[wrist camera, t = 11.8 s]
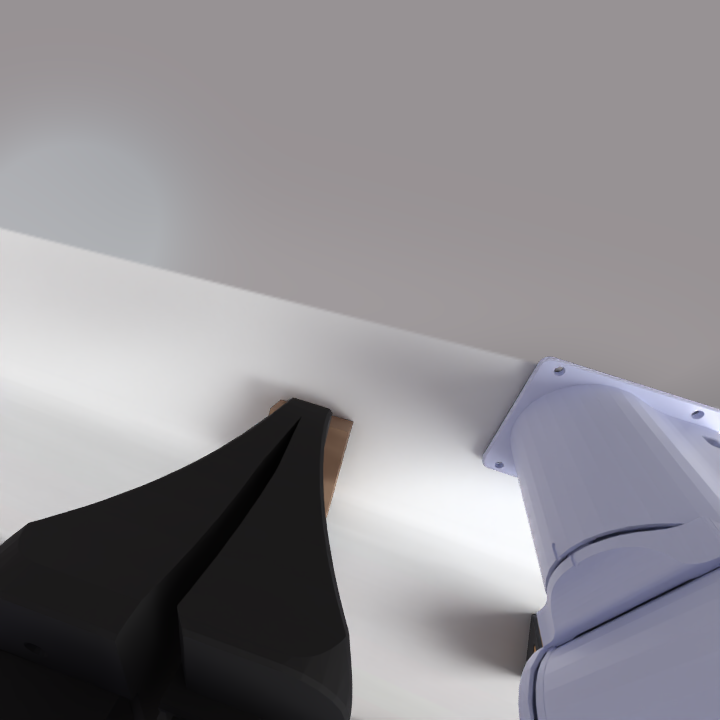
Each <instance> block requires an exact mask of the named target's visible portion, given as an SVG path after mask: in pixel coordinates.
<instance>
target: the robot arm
mask: <svg viewBox="0 0 720 720" xmlns="http://www.w3.org/2000/svg"><path fill="white" fill-rule="evenodd" d="M558 367H563V369H562V370H561V371H560V372H554V370H555V369H556V368H558ZM695 411H699V412H698V413H696V414H693V415H692V413H694V412H695ZM331 417H332V412H331V410H330V409H328V408H325V407H322V406H318V405H315V404H312V403H309V402H306V401H303V400H299V399H296V398H292V399H290V400H288V401H287V402H286V403H285V404H283V405H282V406H281V407H280V408H278V409H277V410H276V411H274V412H273V413H272V414H270V415H269V416H268V417H266V418H265V419H264V420H262V421H261V422H259V423H258V424H256V425H255V426H254V427H252V428H251V429H249V430H248V431H246V432H245V433H243V434H242V435H240V436H239V437H237V438H235V439H234V440H232V441H230V442H229V443H227V444H226V445H224V446H222V447H221V448H219V449H217V450H216V451H214V452H212V453H210V454H209V455H207V456H205V457H203V458H201V459H199V460H197V461H195V462H193V463H191V464H189V465H187V466H185V467H183V468H181V469H179V470H177V471H175V472H173V473H170V474H168V475H166V476H164V477H162V478H160V479H157V480H155V481H153V482H150V483H148V484H145V485H143V486H140V487H138V488H135V489H132V490H130V491H127V492H124V493H122V494H119V495H116V496H114V497H111V498H108V499H106V500H103V501H100V502H97V503H94V504H91V505H88V506H85V507H82V508H78V509H75V510H71V511H68V512H65V513H61V514H58V515H55V516H51V517H48V518H45V519H41V520H38V521H34V522H30V523H28V524H27V525H25V526H24V527H23V528H22V529H20V530H19V531H18V532H16V533H15V534H14V535H12V536H11V537H10V538H9V539H7V540H6V541H5V542H4V543H3V544H2V545H0V720H350V716H351V708H352V668H351V654H350V640H349V631H348V627H347V624H346V620H345V616H344V612H343V608H342V604H341V600H340V596H339V592H338V587H337V582H336V578H335V573H334V568H333V562H332V556H331V550H330V545H329V539H328V532H327V523H326V515H325V503H324V484H323V462H324V447H325V442H326V438H327V434H328V430H329V426H330V421H331ZM719 432H720V409H717V408H714V407H711V406H708V405H705V404H701V403H698V402H695V401H692V400H689V399H685V398H682V397H679V396H676V395H673V394H669V393H666V392H663V391H660V390H657V389H653V388H650V387H647V386H644V385H641V384H637V383H634V382H631V381H628V380H625V379H622V378H618V377H615V376H612V375H609V374H606V373H602V372H599V371H596V370H593V369H589V368H587V367H583V366H580V365H577V364H574V363H570V362H567V361H564V360H561V359H558V358H554V357H545V358H543V359H541V360H540V361H539V363H538V364H537V366H536V368H535V369H534V371H533V373H532V374H531V376H530V378H529V379H528V381H527V383H526V384H525V386H524V388H523V389H522V391H521V393H520V394H519V396H518V398H517V400H516V401H515V403H514V405H513V406H512V408H511V410H510V411H509V413H508V415H507V416H506V418H505V420H504V421H503V423H502V425H501V426H500V428H499V430H498V431H497V433H496V435H495V436H494V438H493V440H492V441H491V443H490V445H489V446H488V448H487V450H486V451H485V453H484V455H483V457H482V461H483V464H484V466H486V467H488V468H490V469H493V470H496V471H499V472H502V473H505V474H508V475H511V476H514V477H517V478H518V480H519V484H520V488H521V492H522V497H523V501H524V505H525V509H526V513H527V517H528V521H529V525H530V529H531V534H532V538H533V542H534V546H535V550H536V554H537V558H538V562H539V566H540V571H541V575H542V579H543V583H544V587H545V591H546V594H547V602H546V604H545V606H544V607H543V608H542V609H541V610H540V611H538V612H537V613H536V614H537V619H538V624H539V629H540V633H541V638H542V643H543V647H542V648H540V649H539V650H537V651H536V652H534V653H533V654H532V656H531V657H530V658H529V660H528V661H527V662H526V665H525V667H524V669H523V672H522V675H521V680H520V685H519V703H518V705H519V718H520V720H720V434H719ZM497 462H502V463H501V464H496V463H497Z"/></svg>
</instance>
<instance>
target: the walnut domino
mask: <svg viewBox="0 0 720 720" xmlns="http://www.w3.org/2000/svg"><path fill="white" fill-rule="evenodd" d="M285 403H286V401H283V400H280V401H279V402H278V403H276V404H275V405H274V406H273V407H272V408H271V409H270V413H269V415H270V414H272V413H273V412H274V411H276V410H277V409H278V408H280V407H281V406H282V405H283V404H285ZM352 424H353V422H352V421H349V420H346V419H342V418H339V417H336V416H332V417H331V421H330V426H329V430H328V434H327V438H326V442H325V447H324V462H323V484H324V503H325V515H326V517H327V515H328V511H329V508H330V504H331V500H332V497H333V493H334V490H335V486H336V482H337V479H338V475H339V471H340V468H341V464H342V461H343V457H344V453H345V450H346V446H347V443H348V439H349V435H350V432H351V428H352Z"/></svg>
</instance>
